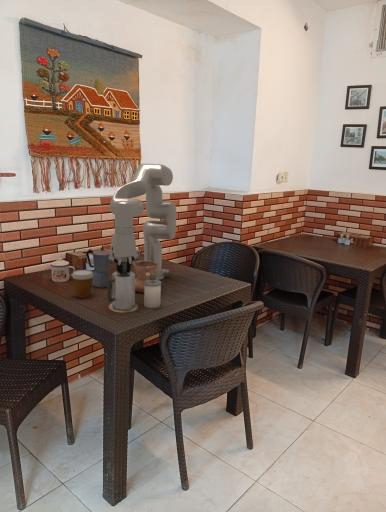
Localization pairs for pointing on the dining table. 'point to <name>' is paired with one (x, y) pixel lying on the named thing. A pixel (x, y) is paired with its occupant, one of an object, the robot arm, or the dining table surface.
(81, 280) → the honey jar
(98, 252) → the moka pot
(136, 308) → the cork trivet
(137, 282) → the ceramic jug
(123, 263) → the plunger
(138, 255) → the coffee mug
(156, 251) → the robot arm
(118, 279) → the steel press
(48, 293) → the dining table surface
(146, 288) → the cream press
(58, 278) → the teacup with lid
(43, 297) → the dining table surface
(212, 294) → the dining table surface
